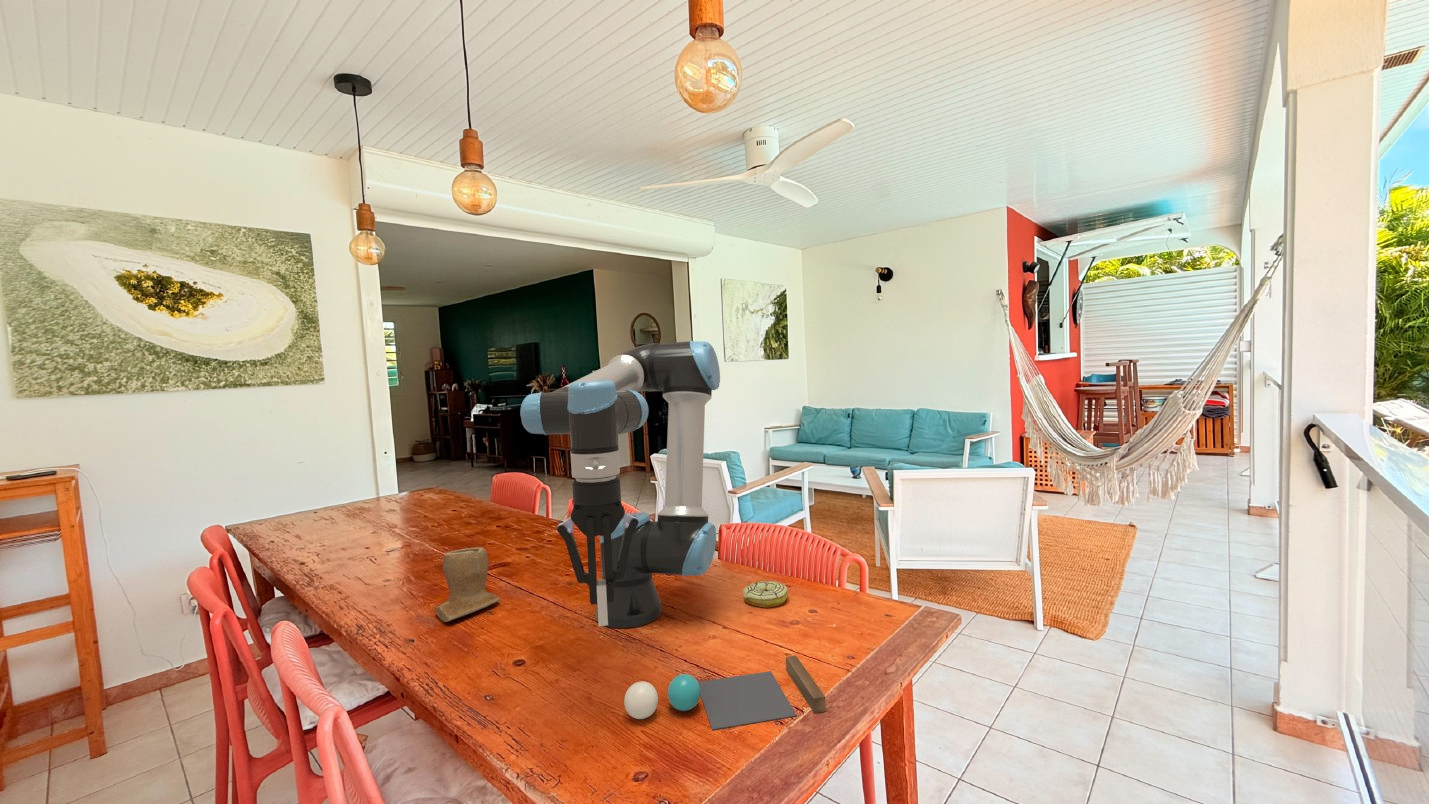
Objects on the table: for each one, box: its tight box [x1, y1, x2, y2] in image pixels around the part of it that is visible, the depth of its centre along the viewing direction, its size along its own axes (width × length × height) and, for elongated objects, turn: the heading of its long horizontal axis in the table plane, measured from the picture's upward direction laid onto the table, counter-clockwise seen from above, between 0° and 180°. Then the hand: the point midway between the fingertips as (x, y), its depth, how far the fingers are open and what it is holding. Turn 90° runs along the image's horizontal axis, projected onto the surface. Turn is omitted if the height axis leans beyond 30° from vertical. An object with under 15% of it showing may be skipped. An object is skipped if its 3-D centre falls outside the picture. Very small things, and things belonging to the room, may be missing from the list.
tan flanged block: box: [434, 547, 501, 623], centre depth 138 cm, size 15×12×15 cm
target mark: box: [698, 670, 798, 731], centre depth 97 cm, size 14×14×1 cm
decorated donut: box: [743, 580, 789, 609], centre depth 138 cm, size 10×11×4 cm
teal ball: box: [667, 673, 701, 712], centre depth 95 cm, size 6×6×6 cm
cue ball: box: [623, 680, 659, 720], centre depth 93 cm, size 6×6×6 cm
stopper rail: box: [785, 654, 827, 714], centre depth 99 cm, size 2×14×2 cm, turn 12°
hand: (603, 622), depth 92 cm, fingers closed
